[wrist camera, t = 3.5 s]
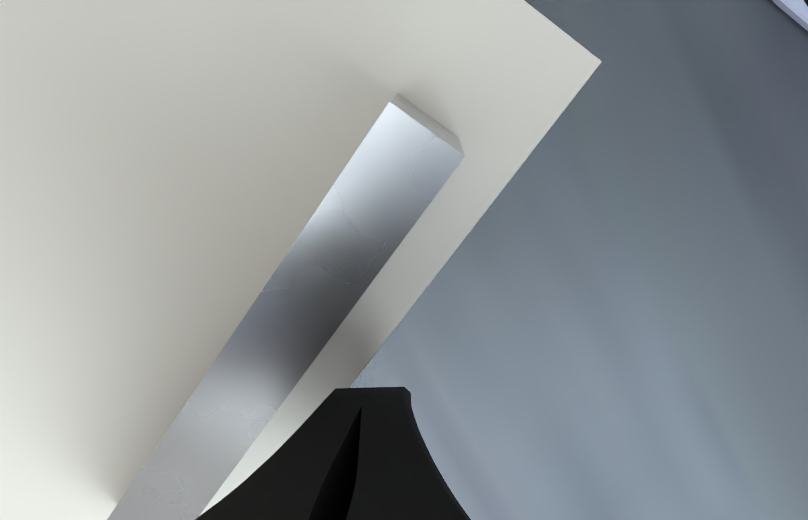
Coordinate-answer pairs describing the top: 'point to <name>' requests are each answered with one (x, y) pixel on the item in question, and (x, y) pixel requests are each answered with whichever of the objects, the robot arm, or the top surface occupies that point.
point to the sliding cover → (232, 220)
